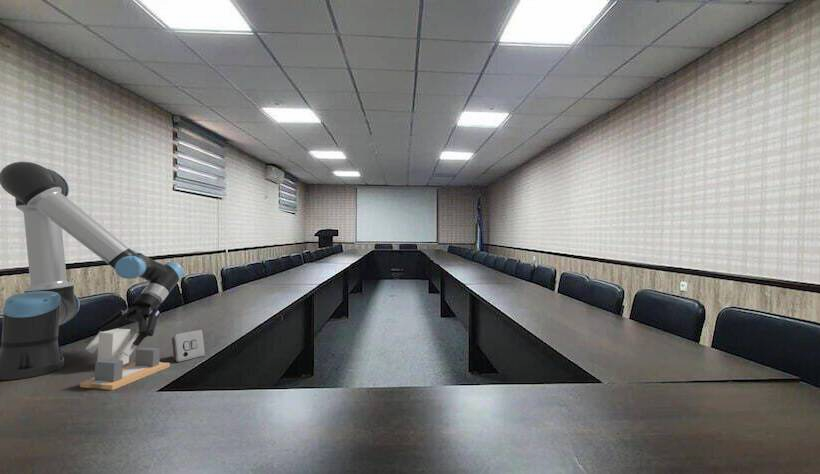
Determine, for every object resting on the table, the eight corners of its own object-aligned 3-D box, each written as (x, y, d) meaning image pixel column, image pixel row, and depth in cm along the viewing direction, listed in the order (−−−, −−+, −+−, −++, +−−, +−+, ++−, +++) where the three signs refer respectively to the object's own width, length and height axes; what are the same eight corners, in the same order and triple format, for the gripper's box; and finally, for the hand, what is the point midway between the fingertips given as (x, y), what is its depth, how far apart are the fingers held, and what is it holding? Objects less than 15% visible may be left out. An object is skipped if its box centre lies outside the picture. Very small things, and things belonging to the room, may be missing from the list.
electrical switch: (177, 363, 116) (177, 334, 117) (169, 361, 118) (169, 334, 119) (205, 356, 124) (205, 329, 125) (196, 355, 126) (196, 329, 127)
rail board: (80, 387, 94) (81, 363, 94) (142, 364, 113) (143, 345, 113) (112, 389, 93) (113, 366, 93) (169, 366, 112) (170, 347, 112)
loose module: (97, 367, 109) (99, 332, 110) (115, 361, 115) (117, 328, 116) (111, 368, 109) (113, 333, 109) (128, 362, 115) (130, 329, 115)
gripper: (186, 306, 127) (148, 361, 111) (127, 303, 130) (81, 356, 114) (176, 293, 122) (134, 349, 106) (114, 290, 125) (64, 344, 109)
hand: (106, 352), depth 110 cm, fingers open, 12 cm apart
